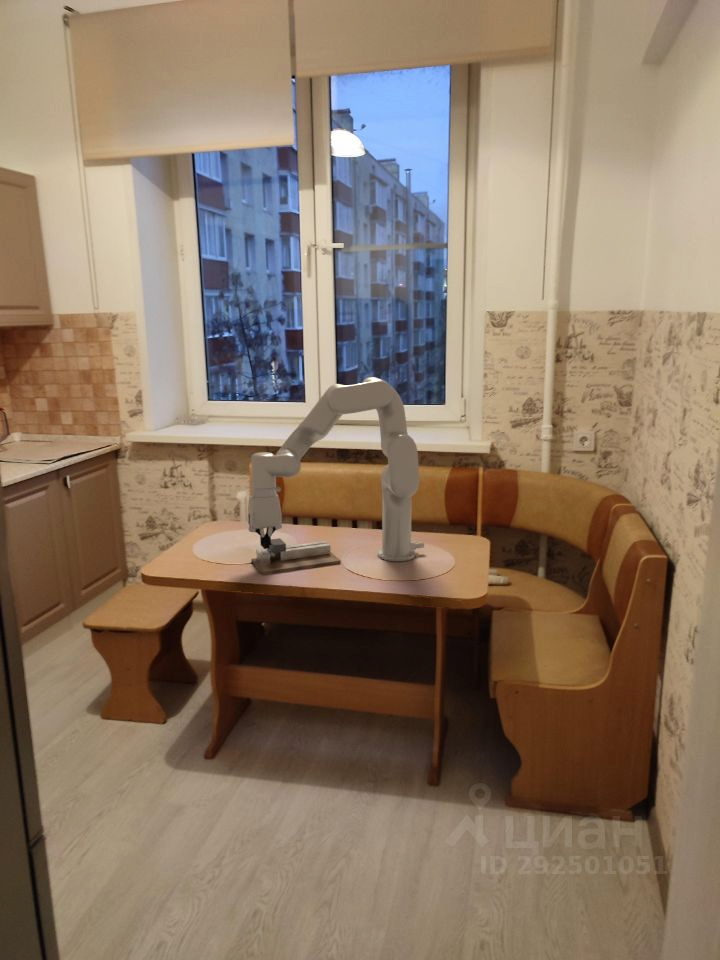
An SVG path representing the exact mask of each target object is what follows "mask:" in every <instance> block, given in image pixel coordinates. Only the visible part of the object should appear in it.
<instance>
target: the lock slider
mask: <svg viewBox="0 0 720 960" xmlns="http://www.w3.org/2000/svg"><path fill="white" fill-rule="evenodd" d="M286 546H287V544H286V543H285V541H283V539H282V538H271V545H269V548H270V549H271V550H272V551H273V552H274V553H276V552H283V551H286Z"/></svg>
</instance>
